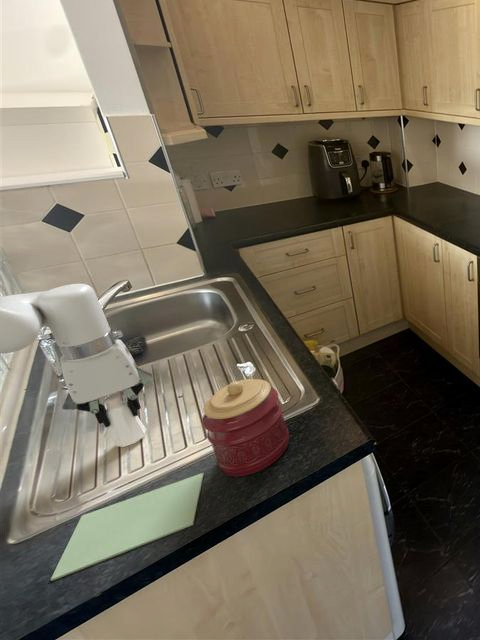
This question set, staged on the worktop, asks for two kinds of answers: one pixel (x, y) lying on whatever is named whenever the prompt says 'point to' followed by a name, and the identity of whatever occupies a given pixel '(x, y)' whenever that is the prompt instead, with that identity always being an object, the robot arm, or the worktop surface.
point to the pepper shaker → (123, 422)
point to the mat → (130, 524)
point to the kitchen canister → (245, 427)
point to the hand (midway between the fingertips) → (121, 417)
